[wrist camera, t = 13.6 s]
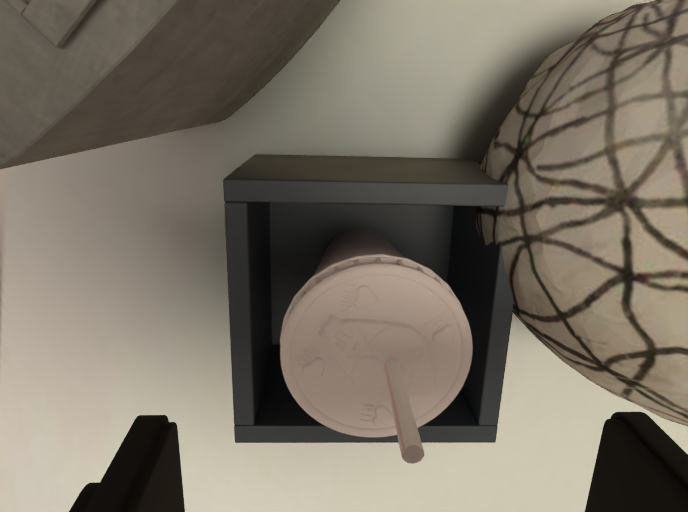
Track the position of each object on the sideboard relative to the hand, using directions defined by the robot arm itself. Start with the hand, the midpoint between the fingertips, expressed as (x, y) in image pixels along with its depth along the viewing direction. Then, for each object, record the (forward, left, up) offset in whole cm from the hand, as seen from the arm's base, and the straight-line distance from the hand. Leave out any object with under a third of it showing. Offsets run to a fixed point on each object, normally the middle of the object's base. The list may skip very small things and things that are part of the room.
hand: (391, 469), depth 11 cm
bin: (0, 0, -16) cm, 16 cm away
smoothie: (0, 0, -15) cm, 15 cm away
